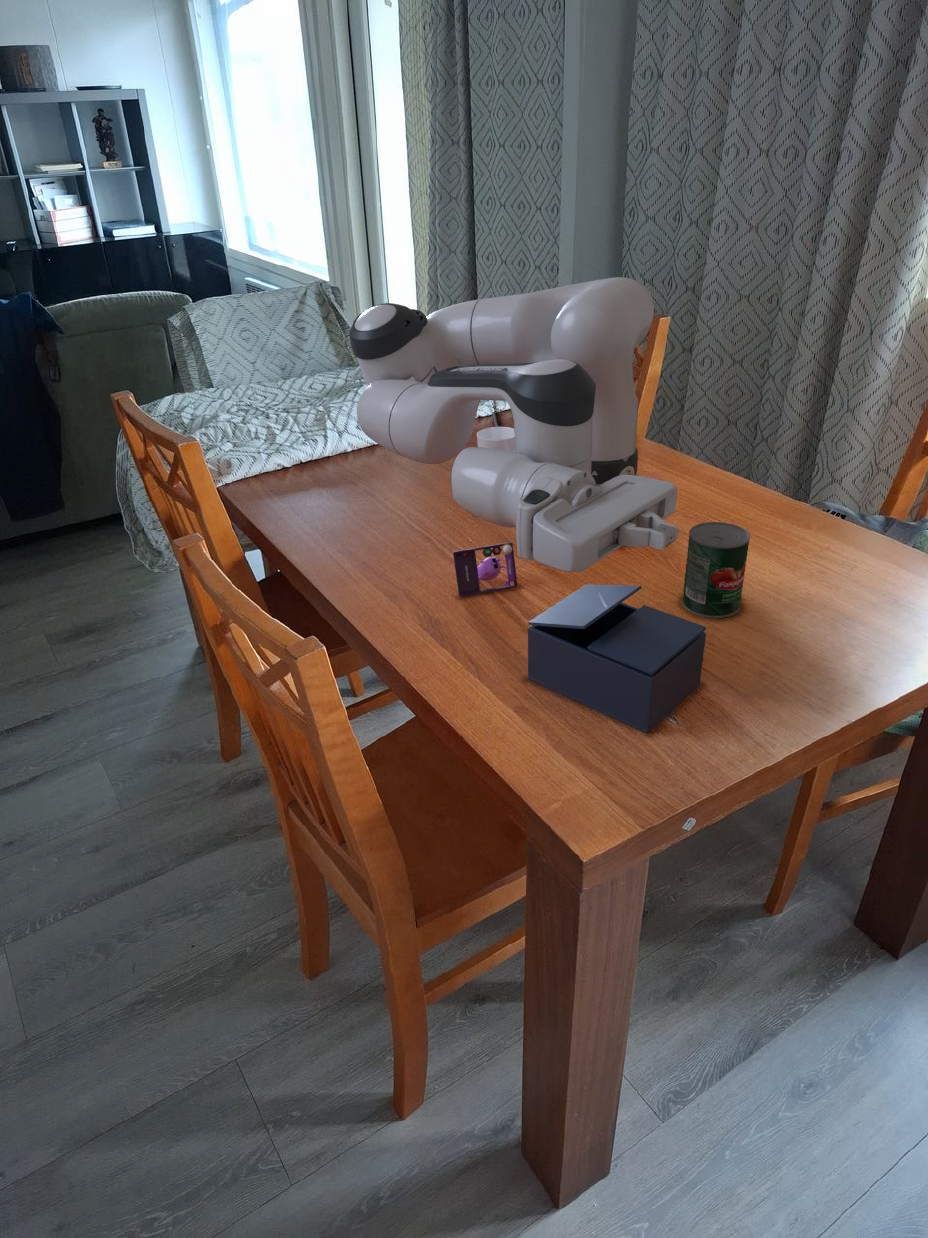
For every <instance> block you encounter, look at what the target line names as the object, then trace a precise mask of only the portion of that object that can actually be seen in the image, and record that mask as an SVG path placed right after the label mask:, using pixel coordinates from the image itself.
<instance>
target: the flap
mask: <svg viewBox="0 0 928 1238" xmlns="http://www.w3.org/2000/svg"><path fill="white" fill-rule="evenodd" d="M641 589H642V585H631V584H630V585H628V584H627V585H623V584H622V585H620V584H589V583H588V584H587V583H585V584H584V585H582V586H581V587H580V588H578V589H576V590H575V591H574V592H571V593H570V594H569V595H568V596H566V597H564V598H563V599H561V600H560V601H558V602H557V603H555V604H554V605H552V606H550V607H549V608H548V609H546V610H545V611H543V612H541V613H540V614H538V615H537V616H535V617H534V618H531V620H529V621H528V622H527V623H528V626H532V625H535V626H549V627H562V628H576V629H585V628H587V627H588V626H590V625H591V624H592V623H594V622H595V621H597V620H598V619H599V618H601V617H602V616H604V615H605V614H606V613H608V612H609V611H611V610H612V609H614V608H615V607H616V606H618V605H619V604H621V603H623V602H625V601H626V600H628V599H629V598H630V597H632V596H633V595H635V594H636V593H638V592H639V591H640V590H641Z"/></svg>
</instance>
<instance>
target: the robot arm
mask: <svg viewBox="0 0 928 1238" xmlns="http://www.w3.org/2000/svg"><path fill="white" fill-rule="evenodd" d="M654 315H655V304H654V299H653V297H652V294H651V292H650V291H649V289H648V287H646V286H645V285H644V284H643V283H642V282H640V281H638V280H636V279H633V278H629V277H622V276H617V277H616V276H615V277H608V278H602V279H596V280H590V281H585V282H578V283H573V284H568V285H563V286H557V287H553V288H547V289H542V290H537V291H533V292H526V293H519V294H518V293H517V294H511V295H503V296H495V297H487V298H479V299H473V300H468V301H463V302H459V303H455V304H452V305H449V306H446V307H443V308H440V309H437V310H435V311H433V312H432V313H430V314H429V315H428V316H427V315H426V314H424V312H423V311H421V310H419V309H415V308H409V307H408V306H406V305H402V304H398V303H392V302H391V303H390V302H384V303H379V304H376V305H373V306H371V307H369V308H367V309H366V310H364V311H362V312H361V313H359V314H358V315H357V317H356V318H354V320H353V322H352V324H351V326H350V327H349V330H348V335H349V343H350V346H351V350H352V353H353V356H354V357H355V358H357V362H358V365H359V368H360V371H361V373H362V376H363V378H364V381H365V383H366V385H367V387H366V388H365V389H364V390H363V391H362V392H361V394H360V396H359V397H358V401H357V405H356V419H357V423H358V425H359V428H360V429H361V431H362V432H363V434H365V435H366V436H367V438H369V439H370V440H372V441H373V442H374V443H376V444H378V445H379V446H381V447H382V448H384V449H385V450H388V451H390V452H391V453H394V454H396V455H398V456H401V457H404V458H406V459H408V460H411V461H414V462H417V463H420V464H425V465H440V464H444V463H445V462H448V461H450V460H452V459H453V458H455V457H456V458H455V459H454V461H453V463H452V464H453V465H452V467H451V472H450V489H451V495H452V498H453V500H454V502H455V503H456V505H458V506H459V508H461V509H462V510H463V511H465V512H467V513H468V514H470V515H473V516H475V517H476V518H479V519H481V520H484V521H486V522H489V523H491V524H494V525H497V526H500V527H502V528H515V539H516V553H517V557H518V558H521V559H524V560H527V561H532V560H534V561H536V563H539V564H542V565H544V566H547V567H549V568H552V569H555V570H558V571H562V572H564V573H565V572H566V573H582V572H584V571H586V570H587V569H589V568H591V567H593V566H594V565H595V564H597V563H598V562H601V560H603V559H605V558H606V557H608V556H609V555H611V554H613V553H614V552H616V551H617V550H618V549H620V548H621V547H623V546H624V547H628V548H652V549H654V550H658V551H662V550H664V549H666V548H667V547H668V546H670V545H671V544H673V543H674V542H676V541H677V540H678V537H679V527H678V526H677V525H675V524H672V523H668V522H666V521H664V520H665V519H667V518H669V517H670V516H671V515H674V513H675V512H676V507H677V501H678V487H677V486H676V485H675V484H674V483H673V482H671V481H669V480H664V479H658V478H653V477H648V476H643V475H637V474H638V464H639V463H638V462H639V450H638V448H637V433H638V431H637V430H638V417H639V416H638V415H639V399H638V396H637V395H636V389H635V388H636V387H635V382H634V372H633V356H634V351H635V348H636V347H637V346H638V345H639V344H641V343H642V342H643V341H644V339H645V338H647V335H648V334H649V332H650V330H651V327H652V323H653V320H654ZM488 400H491V401H497V402H498V401H499V402H501V401H503V402H506V403H507V404H508V406H509V408H510V412H511V414H512V419H513V429H514V434H515V451H513V452H508V451H503V450H498V449H491V448H483V447H478V446H468V447H466V446H467V444H468V443H469V441H470V439H471V437H472V435H473V432H474V429H475V425H476V419H477V413H478V409H479V405H480V403H481V401H488ZM491 413H492V418H493V422H494V427H500V425H499V421H498V417H497V413H496V411H495V412H492V411H491Z"/></svg>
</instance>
